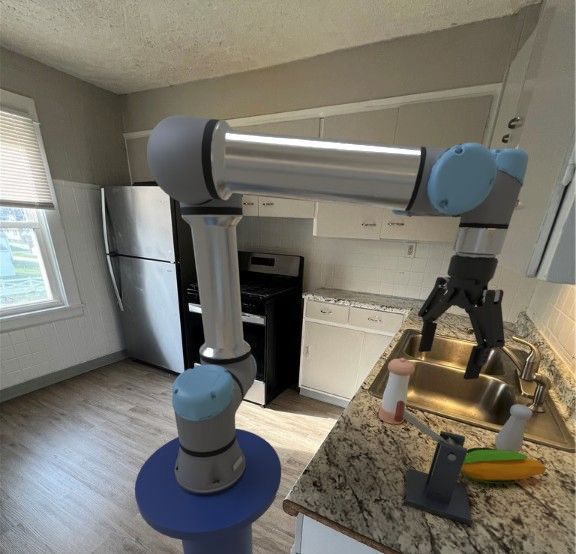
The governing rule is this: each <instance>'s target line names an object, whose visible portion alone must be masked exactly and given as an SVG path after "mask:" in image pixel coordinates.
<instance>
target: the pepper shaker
mask: <svg viewBox="0 0 576 554" xmlns="http://www.w3.org/2000/svg"><path fill="white" fill-rule="evenodd" d="M387 368H388V371H389V373H388V379H387V384H386V386H385V389H384V391H383V395H382V401H381V402H380V405H379V409H378V417H379V419H380V420H381V421H383V422H385V423H387V424H389V425H400V424H402V423H403V422H404V421H405V419H404V418H403V421H402V422H396V421H395V419H394V417H395V412H396V406H397V402H398V401H404V403H405V408H404V410H405V411H406V410H407V409H406V405H407V402H408V389H409V388H408V387H409V384H410V383H409V382H410V378H411V375H413V373H415V365H414V364H413V362H411V361H410V360H408V359H406V358H405V357H400V358H392V360H390V361H388V364H387ZM406 412H407V411H406Z"/></svg>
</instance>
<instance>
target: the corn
mask: <svg viewBox="0 0 576 554" xmlns="http://www.w3.org/2000/svg"><path fill="white" fill-rule="evenodd" d="M546 470H547V466H545V465H544V464H543V463H541V462H540V461H539V460H536V459H532V458H529V457H528V455H527V454H524V453H520V452H513V451H505V450H498V449H497V448H491V447H484V446H483V447H471V448H467V454H466V457H465V460H464V463H463V465H462V468H461V471H460V474H461V475H462V476H464V477H465V478H467V479H470V480H472V481H475V482H478V483H479V482H480V483H487V484H514V483H515V484H516V483H518V484H519V481H515V480H523V479H527V478H531V477H536V476H539V475H543V474H544V473H545V472H546Z"/></svg>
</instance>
